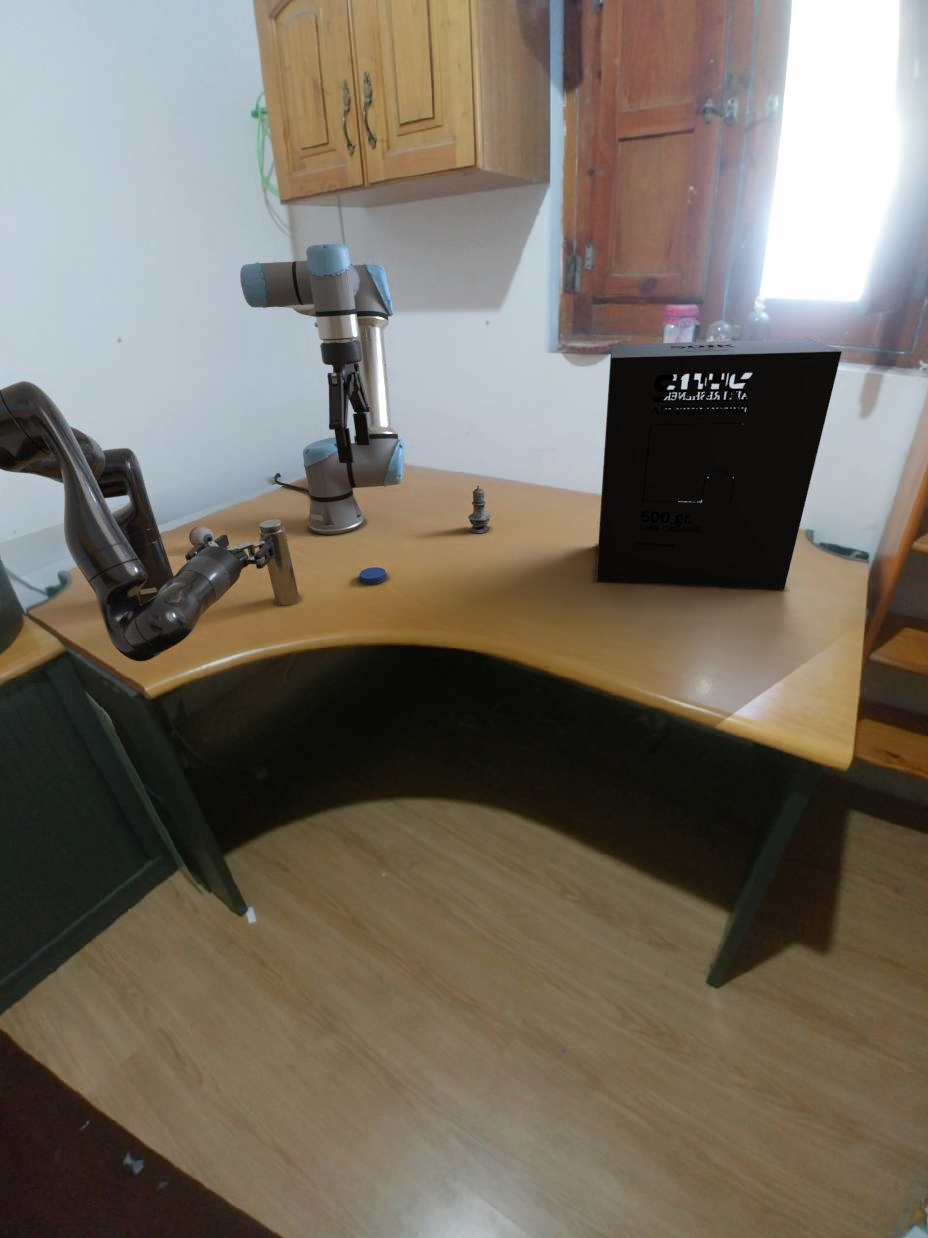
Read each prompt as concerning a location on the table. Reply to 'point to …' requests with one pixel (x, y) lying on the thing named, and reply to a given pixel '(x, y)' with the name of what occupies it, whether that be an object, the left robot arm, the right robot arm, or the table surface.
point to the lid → (372, 576)
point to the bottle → (280, 564)
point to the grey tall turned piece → (479, 513)
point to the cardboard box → (710, 460)
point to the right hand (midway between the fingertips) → (355, 453)
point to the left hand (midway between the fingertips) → (247, 539)
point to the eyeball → (201, 535)
